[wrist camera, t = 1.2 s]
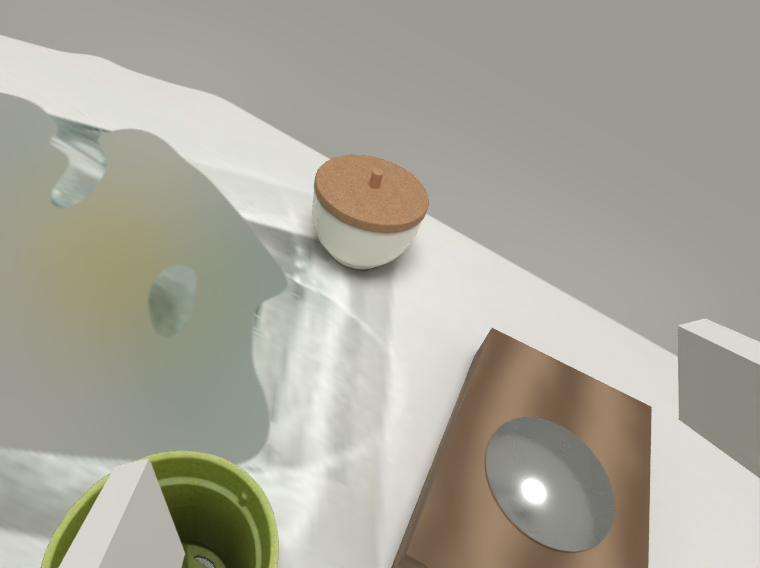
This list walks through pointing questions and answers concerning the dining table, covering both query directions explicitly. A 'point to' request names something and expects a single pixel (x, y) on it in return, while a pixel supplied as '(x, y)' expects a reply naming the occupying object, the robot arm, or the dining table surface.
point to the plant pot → (197, 513)
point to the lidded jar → (366, 209)
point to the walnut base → (534, 471)
